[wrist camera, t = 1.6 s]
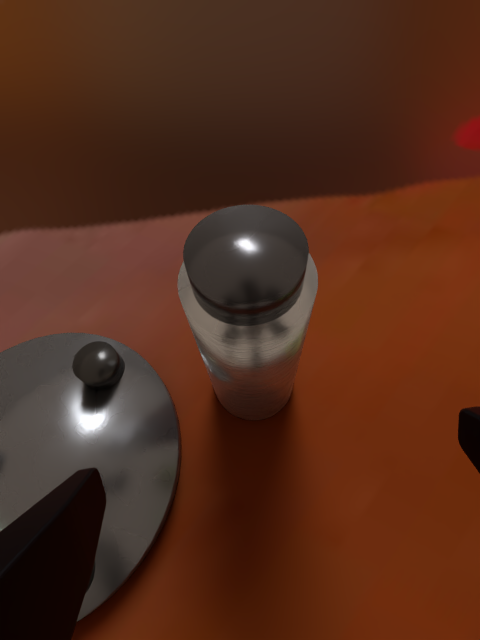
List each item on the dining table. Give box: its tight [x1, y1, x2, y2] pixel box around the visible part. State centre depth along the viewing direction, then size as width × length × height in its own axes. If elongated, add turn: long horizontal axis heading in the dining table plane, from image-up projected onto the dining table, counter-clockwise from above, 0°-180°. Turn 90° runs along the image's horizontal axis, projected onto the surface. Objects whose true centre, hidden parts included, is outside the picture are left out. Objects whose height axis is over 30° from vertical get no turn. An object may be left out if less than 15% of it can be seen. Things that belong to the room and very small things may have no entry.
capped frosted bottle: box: [178, 205, 318, 420], centre depth 16 cm, size 5×5×12 cm
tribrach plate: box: [0, 333, 181, 621], centre depth 19 cm, size 16×16×2 cm
